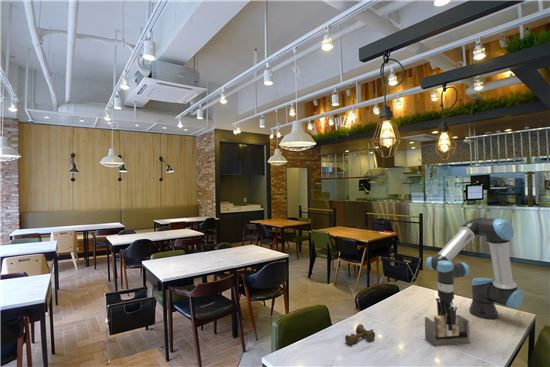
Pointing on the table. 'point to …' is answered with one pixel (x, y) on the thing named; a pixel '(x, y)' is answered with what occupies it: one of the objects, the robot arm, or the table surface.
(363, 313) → the table surface
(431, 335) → the grey u-shaped piece
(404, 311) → the table surface
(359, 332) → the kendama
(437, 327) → the door panel
